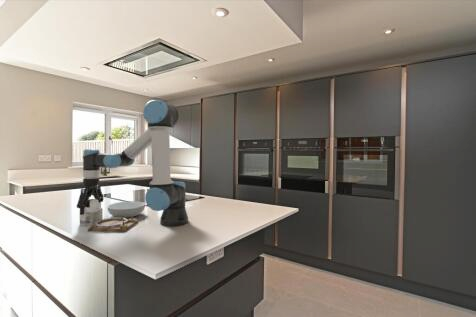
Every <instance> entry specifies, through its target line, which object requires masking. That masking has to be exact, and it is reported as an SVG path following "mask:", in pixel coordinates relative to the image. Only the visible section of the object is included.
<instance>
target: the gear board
mask: <svg viewBox="0 0 476 317" xmlns="http://www.w3.org/2000/svg"><path fill="white" fill-rule="evenodd" d="M138 223H139V219H136V218H134V216H131V217H130V218H120V217H115V216H113V217H108V218H103V219H101V220H99V221H97V222H95V223H94V225H93V226H89V227H88V228H87V232H90V233H91V232H98V233H99V232H101V233H102V232H105V233H107V232H109V233H125V232H127V231H128V230H129V229H131V228H132V227H134V226H135V225H136V224H138Z"/></svg>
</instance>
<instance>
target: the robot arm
mask: <svg viewBox="0 0 476 317" xmlns="http://www.w3.org/2000/svg"><path fill="white" fill-rule="evenodd" d="M142 116H143V118H144V120H145V121H146V122H147V129H146V130H145V131H143V133H142V134H141V135H140V136H138V137H137V138H136V139H135V140H134V141H133V142H132V143H131V144H129V145H128V146H127V147H126V148H125V149H124V150H122V151H121V152H120V153H118V152H117V153H102V152H100V150H99V149H89V148H88V149H86V148H85V149H84V150H83V155H82V166H83V167H82V171H83V172H82V174H83V175H82V177H83V179H82V185H83V186H84V188H83V187H82V188H80V193H79V194H80V195H79V197H78V200H77V204H76V208H77V209H79V222H80V221H86V208H85V206H86V204H87V202H88V200H89V199H91V197H92V196H93V199H97V200H98V208H102V203H103V202H104V196H103V193H102V189H101V187H102V186H101V185H100V168H108V169H115V168H120V167H129V166H132V165H133V164H134V163H135V160H136V159H137V157H138V156H140V155H141V154H142V153H143V152H145V150H147V149H148V148H149V147H150V146H151V165H152V168H151V171H152V180H151V181H150V182H149V189H148V190H147V192H146V194H145V198H144V199H145V204H146V205H147V207H149V208H150V209H151V210H152V211H156V212H161V211H162V213H161V217H160V219H159V220H160V221H159V222H160V225H161V226H167V227H177V226H182V225H183V226H184V225H186V224H188V223H189V215H188V212H187V209H186V189H187V188H186V183H185V182H184V181H174V180H172V179H171V152H170V151H171V150H170V149H171V147H170V144H171V143H170V141H171V140H170V131H172V130H173V129H174V128H175V127H176V126H177V124H179V120H180V112H179V109H178V108H177V107H176V106H174V105H172V104H170V103H168V102H165V101H163V100H159V99H151V100H149V101H148V102H147V103H146V104H145V105H144V107H143V110H142Z"/></svg>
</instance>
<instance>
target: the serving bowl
mask: <svg viewBox="0 0 476 317" xmlns="http://www.w3.org/2000/svg"><path fill="white" fill-rule="evenodd" d="M145 207H146V202H143V201H135V200H134V201H133V200H132V201H120V202H115V203H111V204H108V205H107V211H108V213H109V214H110V215H111V216H113V217H118V218H126V219H130V218H131V216H133V217H136V216H138V215H140V214H141V213H143V211H144V210H145Z"/></svg>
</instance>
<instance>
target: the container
mask: <svg viewBox="0 0 476 317" xmlns="http://www.w3.org/2000/svg"><path fill="white" fill-rule="evenodd" d="M85 208H86V221H80V220H79V225H80V226H89V227H91V226H93V225H94V223H95V222H97V221H99V220H101V219H104V218H103V216H104V215H103V212H104V211H103V208H102V207H101V208H98V200H97V199H95V198H89V200H88V202H87V204H86V206H85Z"/></svg>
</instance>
